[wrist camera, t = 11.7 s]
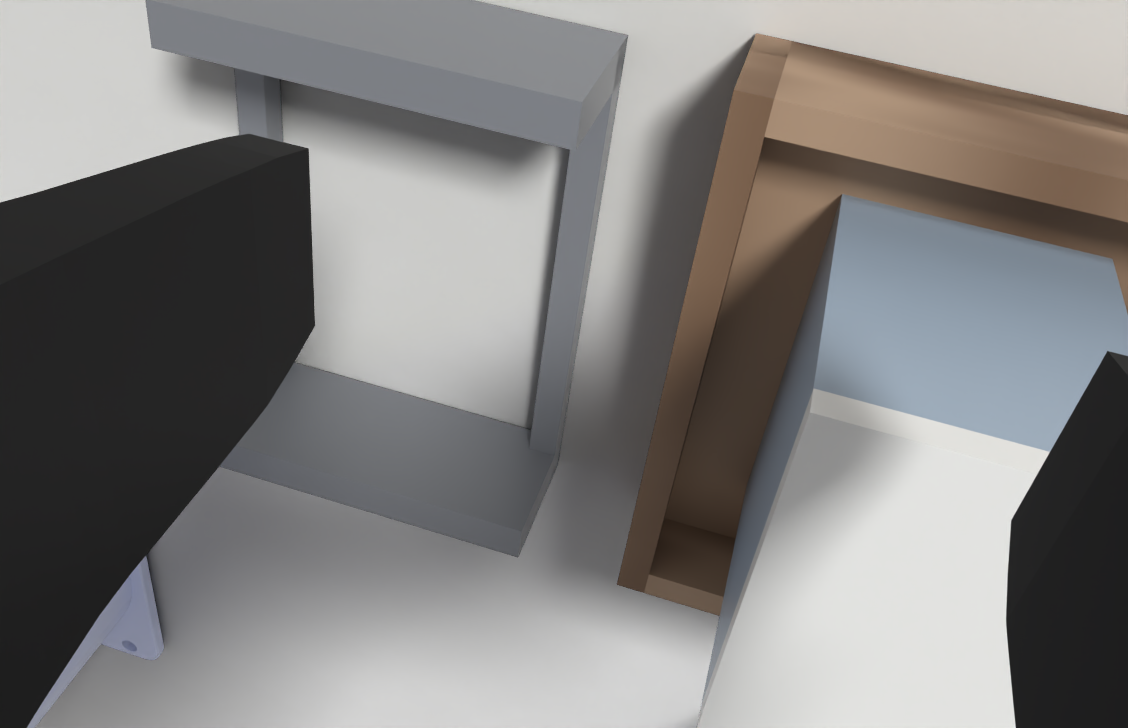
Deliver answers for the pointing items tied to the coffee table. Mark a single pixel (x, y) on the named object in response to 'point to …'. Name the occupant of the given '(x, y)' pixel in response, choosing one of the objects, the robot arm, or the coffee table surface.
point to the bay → (457, 93)
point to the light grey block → (903, 474)
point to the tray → (797, 240)
